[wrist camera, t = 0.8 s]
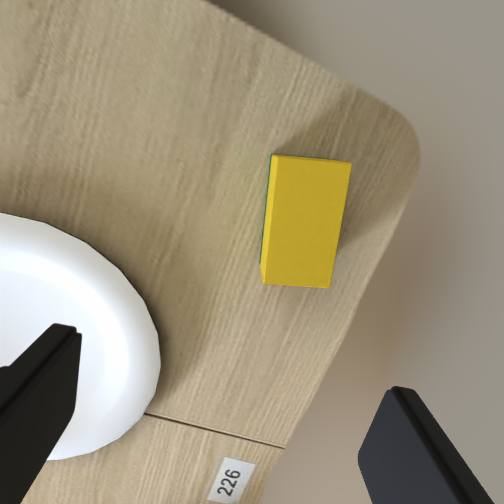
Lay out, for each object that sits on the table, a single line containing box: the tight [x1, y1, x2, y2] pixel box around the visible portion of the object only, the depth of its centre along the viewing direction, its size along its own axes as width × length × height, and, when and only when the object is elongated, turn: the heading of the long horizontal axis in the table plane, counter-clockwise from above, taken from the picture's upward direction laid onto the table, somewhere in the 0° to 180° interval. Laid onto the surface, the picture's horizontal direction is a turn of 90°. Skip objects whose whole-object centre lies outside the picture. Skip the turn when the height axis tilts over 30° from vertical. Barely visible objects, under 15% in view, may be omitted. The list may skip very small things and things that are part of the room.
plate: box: [0, 212, 161, 460], centre depth 29 cm, size 25×25×2 cm
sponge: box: [260, 154, 352, 288], centre depth 25 cm, size 9×5×5 cm, turn 175°
